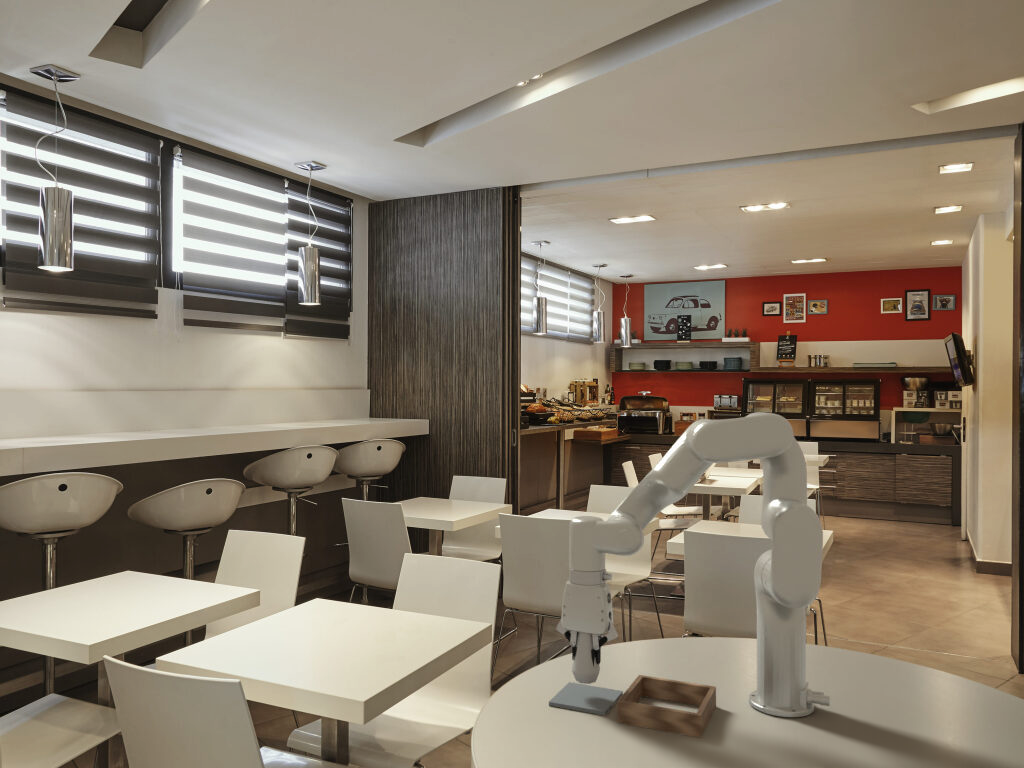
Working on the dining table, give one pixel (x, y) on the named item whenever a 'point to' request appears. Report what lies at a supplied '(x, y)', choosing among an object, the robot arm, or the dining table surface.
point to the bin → (666, 717)
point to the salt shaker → (585, 660)
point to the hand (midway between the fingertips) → (586, 664)
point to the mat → (586, 698)
